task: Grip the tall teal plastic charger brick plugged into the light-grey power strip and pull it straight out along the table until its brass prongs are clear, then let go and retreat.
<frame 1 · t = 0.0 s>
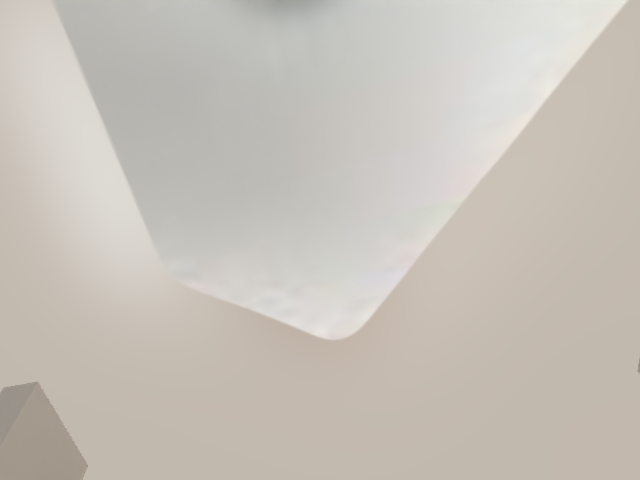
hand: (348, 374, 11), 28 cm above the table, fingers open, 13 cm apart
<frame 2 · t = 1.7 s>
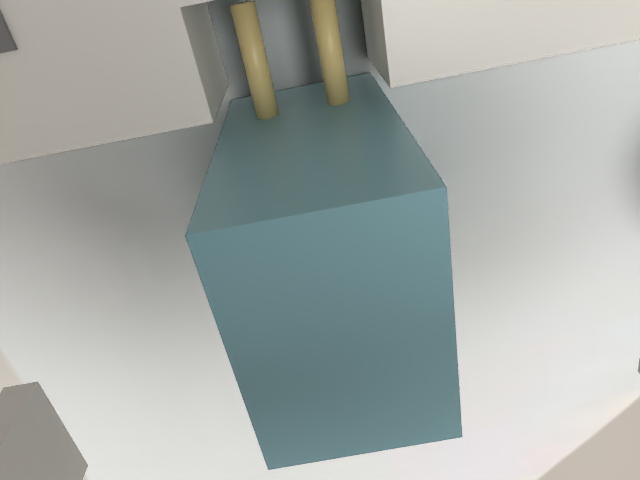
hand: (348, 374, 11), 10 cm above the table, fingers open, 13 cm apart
charger: (318, 194, 15), point 5 cm above the table, slide at 0.0 cm
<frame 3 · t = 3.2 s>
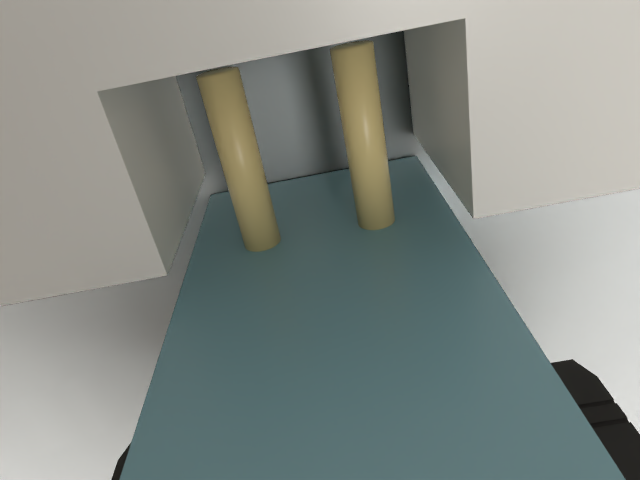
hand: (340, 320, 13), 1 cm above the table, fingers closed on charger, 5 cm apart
charger: (346, 386, 9), point 5 cm above the table, slide at 0.0 cm, touching gripper
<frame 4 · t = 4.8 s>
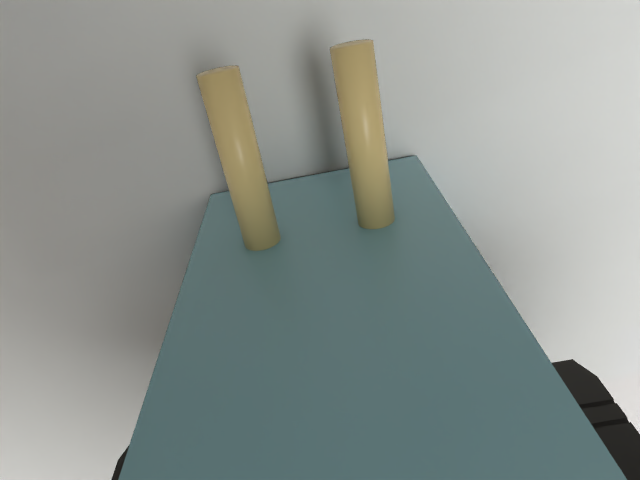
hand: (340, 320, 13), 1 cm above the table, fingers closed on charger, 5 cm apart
charger: (346, 385, 9), point 5 cm above the table, slide at 5.6 cm, touching gripper
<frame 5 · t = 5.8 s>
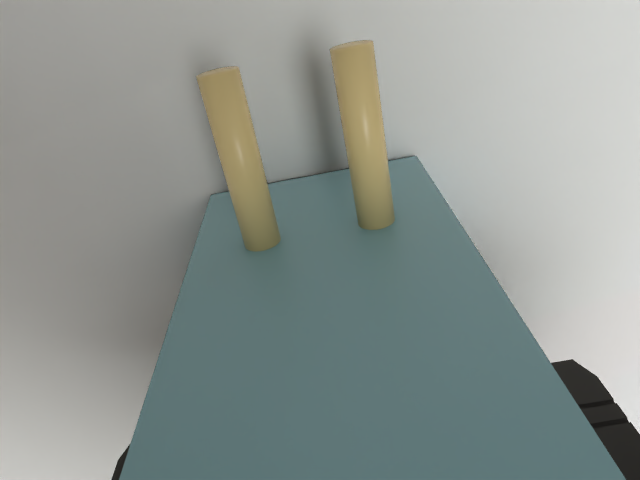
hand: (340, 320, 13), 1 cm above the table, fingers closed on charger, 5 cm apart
charger: (346, 386, 9), point 5 cm above the table, slide at 8.9 cm, touching gripper
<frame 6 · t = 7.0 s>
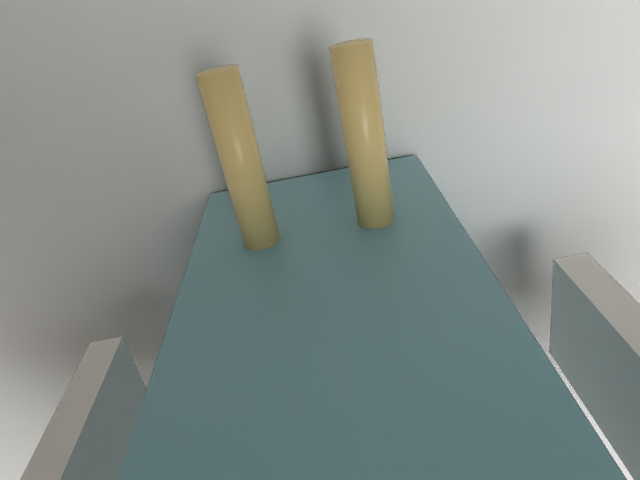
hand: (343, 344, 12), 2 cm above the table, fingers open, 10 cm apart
charger: (345, 385, 9), point 5 cm above the table, slide at 9.0 cm
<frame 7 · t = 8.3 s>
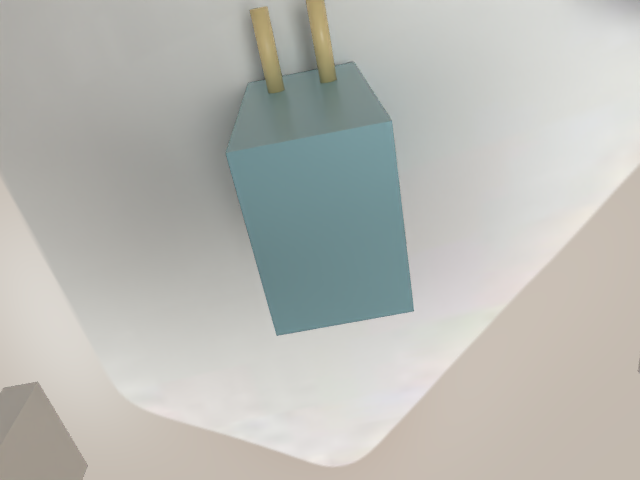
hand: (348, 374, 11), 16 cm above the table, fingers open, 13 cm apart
charger: (313, 146, 21), point 5 cm above the table, slide at 9.0 cm
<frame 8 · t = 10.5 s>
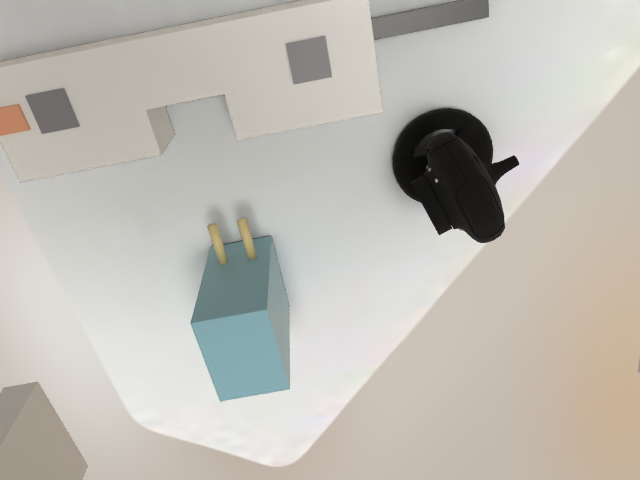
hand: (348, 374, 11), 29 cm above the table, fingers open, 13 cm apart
charger: (242, 296, 39), point 5 cm above the table, slide at 9.0 cm
power strip: (194, 78, 36), on the table
webcam: (439, 155, 40), on the table
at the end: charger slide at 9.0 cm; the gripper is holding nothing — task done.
